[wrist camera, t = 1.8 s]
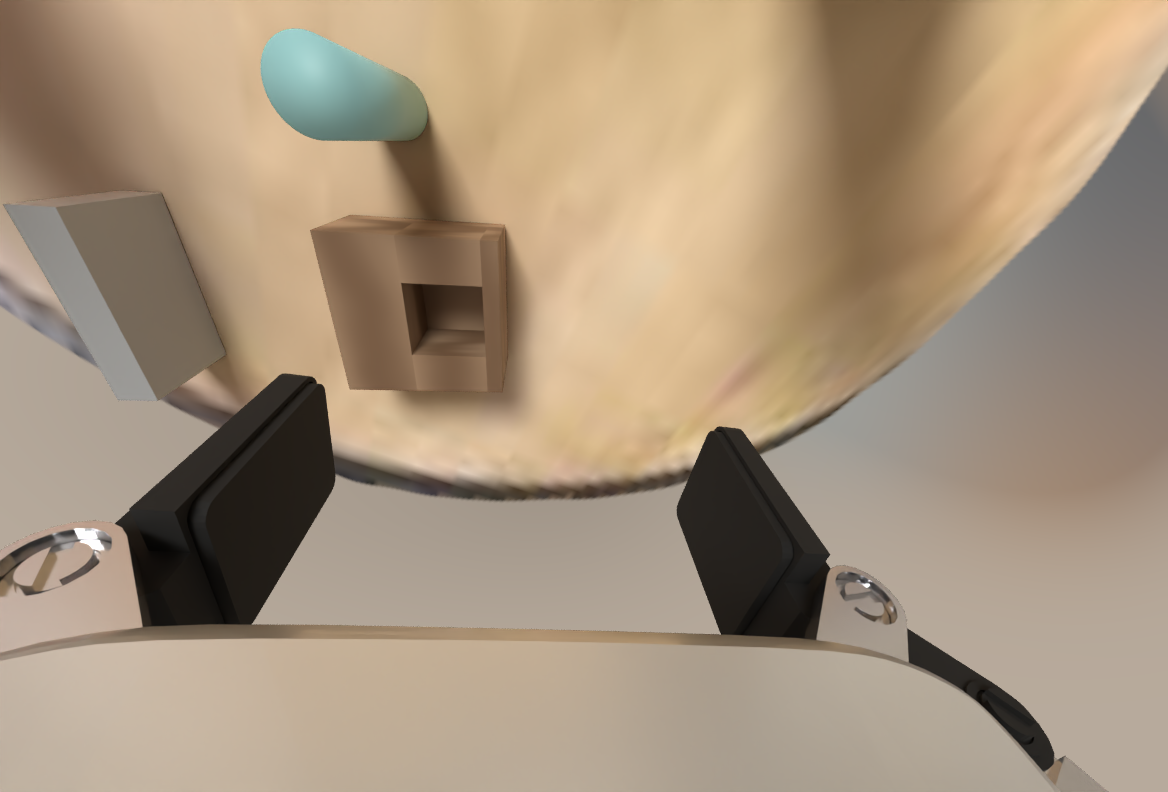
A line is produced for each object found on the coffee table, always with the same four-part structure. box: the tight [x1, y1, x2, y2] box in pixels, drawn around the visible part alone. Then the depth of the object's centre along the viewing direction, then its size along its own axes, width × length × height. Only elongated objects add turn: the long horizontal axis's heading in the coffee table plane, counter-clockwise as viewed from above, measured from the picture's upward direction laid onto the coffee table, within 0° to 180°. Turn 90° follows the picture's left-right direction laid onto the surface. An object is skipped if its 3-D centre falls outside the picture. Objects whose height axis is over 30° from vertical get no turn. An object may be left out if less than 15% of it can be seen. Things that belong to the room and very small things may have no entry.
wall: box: [3, 190, 226, 401], centre depth 23 cm, size 2×10×6 cm, turn 176°
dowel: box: [261, 29, 428, 141], centre depth 18 cm, size 3×3×10 cm
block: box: [310, 215, 508, 392], centre depth 25 cm, size 9×9×5 cm
